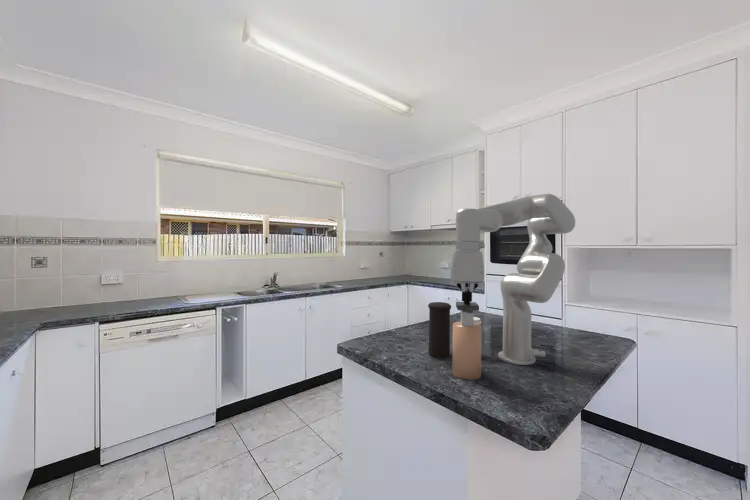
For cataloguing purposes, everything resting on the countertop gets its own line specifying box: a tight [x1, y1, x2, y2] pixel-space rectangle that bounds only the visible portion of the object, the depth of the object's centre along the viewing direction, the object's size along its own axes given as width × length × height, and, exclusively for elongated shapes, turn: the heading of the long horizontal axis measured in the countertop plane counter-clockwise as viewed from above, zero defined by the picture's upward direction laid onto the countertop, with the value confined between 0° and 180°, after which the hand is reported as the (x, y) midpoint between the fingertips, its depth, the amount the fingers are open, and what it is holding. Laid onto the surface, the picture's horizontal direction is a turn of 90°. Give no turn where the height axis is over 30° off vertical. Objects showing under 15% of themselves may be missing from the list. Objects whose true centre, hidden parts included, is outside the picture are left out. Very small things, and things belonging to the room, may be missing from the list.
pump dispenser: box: [451, 310, 483, 381], centre depth 103 cm, size 9×9×20 cm
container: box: [427, 301, 452, 359], centre depth 121 cm, size 9×9×20 cm
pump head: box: [455, 301, 480, 313], centre depth 101 cm, size 6×10×6 cm, turn 171°
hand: (466, 303), depth 103 cm, fingers closed
